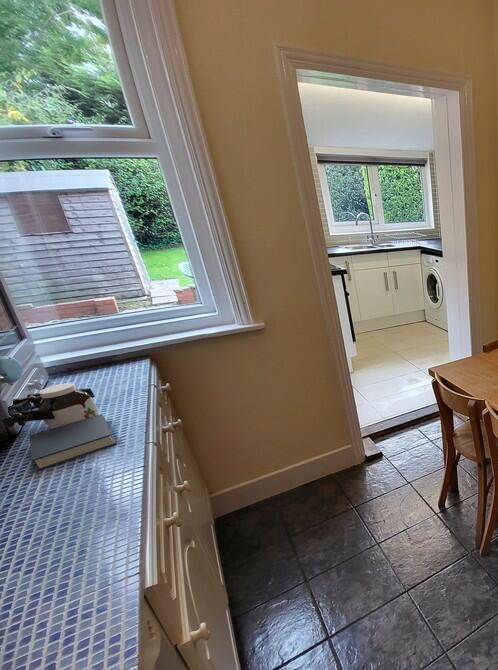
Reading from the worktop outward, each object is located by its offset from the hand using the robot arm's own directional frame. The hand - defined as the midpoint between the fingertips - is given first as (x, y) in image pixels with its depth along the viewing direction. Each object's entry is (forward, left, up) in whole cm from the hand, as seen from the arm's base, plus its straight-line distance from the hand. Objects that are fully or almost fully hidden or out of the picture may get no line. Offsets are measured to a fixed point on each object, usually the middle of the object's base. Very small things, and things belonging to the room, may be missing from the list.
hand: (72, 402), depth 113 cm
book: (+8, -13, -7) cm, 16 cm away
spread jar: (-2, 0, -7) cm, 7 cm away
